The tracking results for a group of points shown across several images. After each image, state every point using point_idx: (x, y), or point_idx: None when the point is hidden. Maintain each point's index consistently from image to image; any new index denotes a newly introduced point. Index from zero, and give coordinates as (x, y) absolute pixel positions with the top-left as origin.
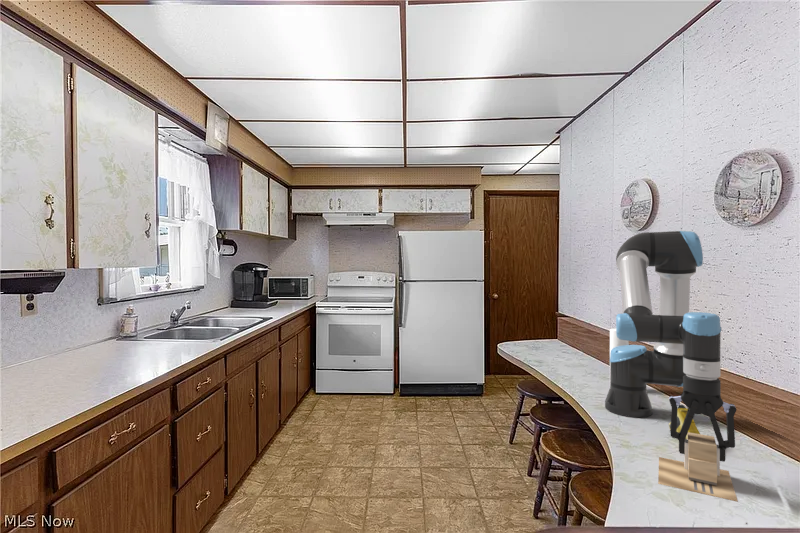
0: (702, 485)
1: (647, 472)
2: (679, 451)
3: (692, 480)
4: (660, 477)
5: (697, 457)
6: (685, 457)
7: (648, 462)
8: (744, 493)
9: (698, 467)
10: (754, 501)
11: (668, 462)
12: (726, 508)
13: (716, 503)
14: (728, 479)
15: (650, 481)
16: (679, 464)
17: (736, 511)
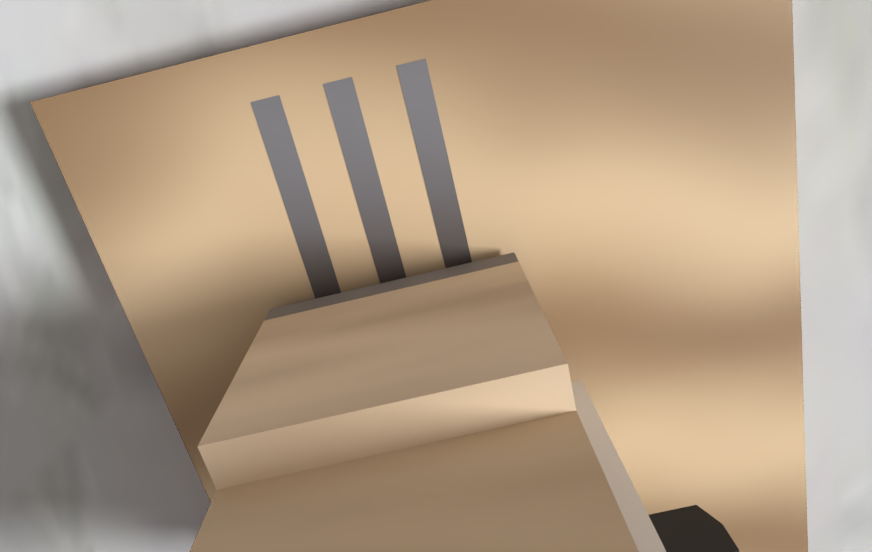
0: (384, 231)
1: (862, 261)
2: (714, 524)
3: None
4: (773, 107)
5: (461, 457)
6: (614, 468)
7: (859, 463)
8: (127, 430)
9: (432, 341)
10: (26, 343)
11: (723, 504)
12: (139, 14)
13: None
14: None
15: (830, 77)
16: None
17: (57, 19)
